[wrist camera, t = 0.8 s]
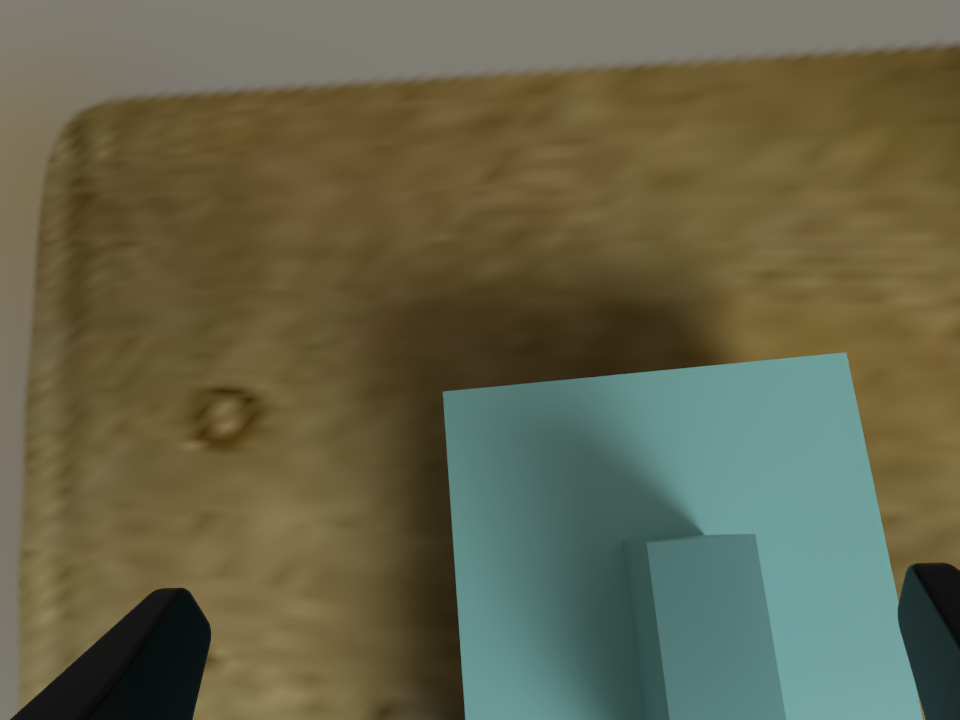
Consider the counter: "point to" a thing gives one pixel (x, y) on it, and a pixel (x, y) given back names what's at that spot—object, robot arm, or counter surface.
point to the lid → (673, 548)
